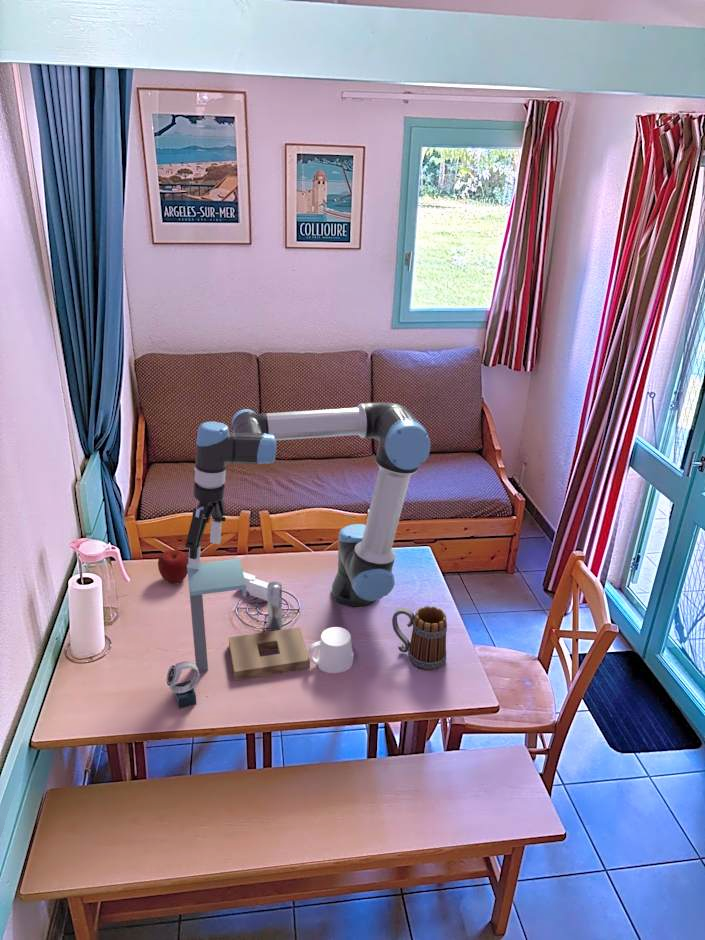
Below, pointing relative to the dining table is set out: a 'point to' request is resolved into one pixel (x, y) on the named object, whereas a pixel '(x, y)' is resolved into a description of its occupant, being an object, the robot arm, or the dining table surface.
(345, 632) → the mug
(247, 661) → the socket board
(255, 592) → the napkin holder
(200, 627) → the light blue l-shaped bracket
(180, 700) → the watch
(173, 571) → the apple
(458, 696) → the dining table surface
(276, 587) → the peg
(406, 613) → the mug
